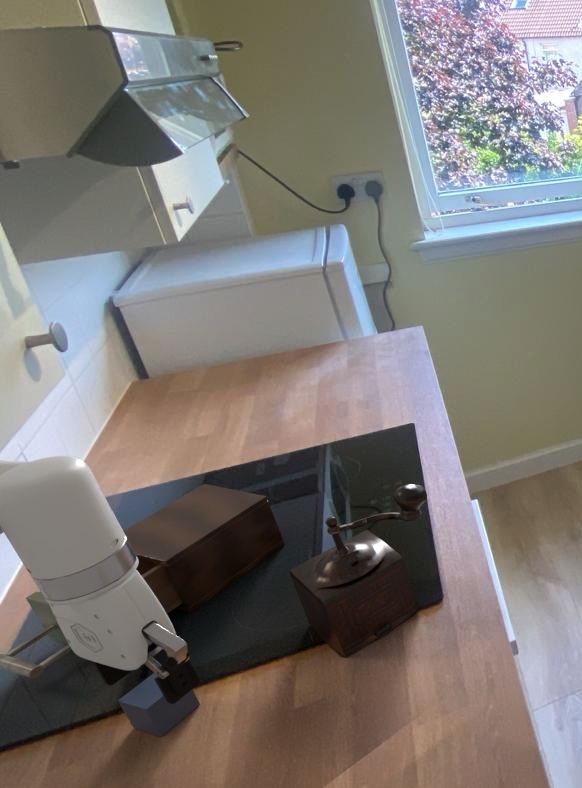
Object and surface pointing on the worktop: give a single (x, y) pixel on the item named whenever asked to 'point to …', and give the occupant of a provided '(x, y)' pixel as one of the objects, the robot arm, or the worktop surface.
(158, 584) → the drawer
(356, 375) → the worktop surface
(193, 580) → the cabinet
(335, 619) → the manual coffee grinder
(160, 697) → the block
